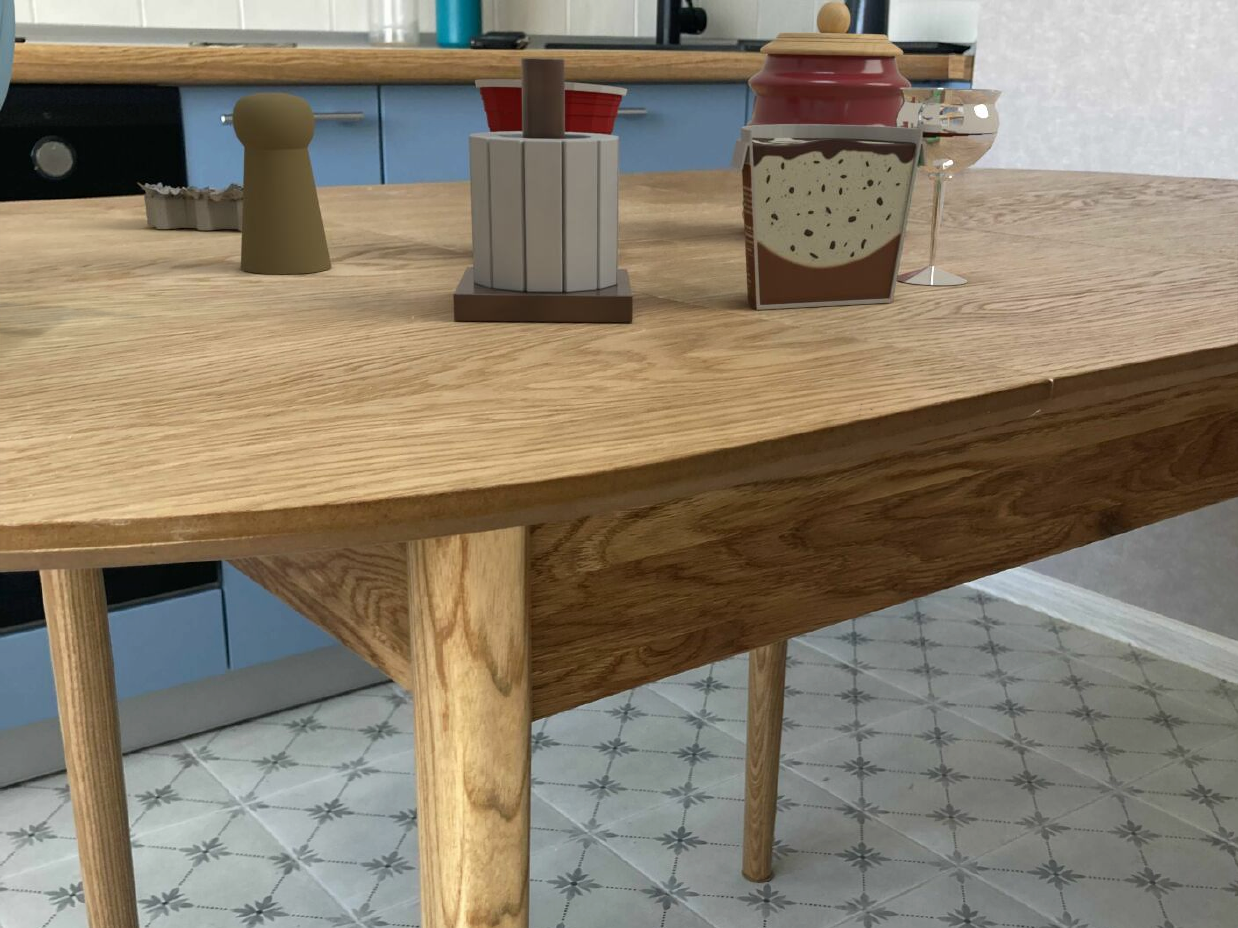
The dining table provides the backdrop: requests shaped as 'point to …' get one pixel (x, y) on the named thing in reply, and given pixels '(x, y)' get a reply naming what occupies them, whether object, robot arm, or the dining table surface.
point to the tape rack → (489, 304)
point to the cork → (279, 186)
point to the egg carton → (194, 207)
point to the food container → (825, 211)
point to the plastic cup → (583, 105)
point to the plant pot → (544, 211)
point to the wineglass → (947, 149)
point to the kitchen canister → (828, 77)
